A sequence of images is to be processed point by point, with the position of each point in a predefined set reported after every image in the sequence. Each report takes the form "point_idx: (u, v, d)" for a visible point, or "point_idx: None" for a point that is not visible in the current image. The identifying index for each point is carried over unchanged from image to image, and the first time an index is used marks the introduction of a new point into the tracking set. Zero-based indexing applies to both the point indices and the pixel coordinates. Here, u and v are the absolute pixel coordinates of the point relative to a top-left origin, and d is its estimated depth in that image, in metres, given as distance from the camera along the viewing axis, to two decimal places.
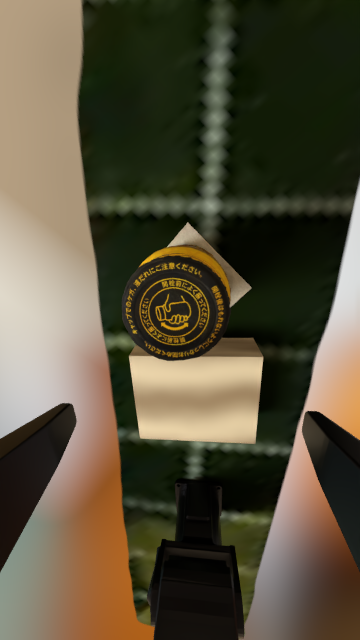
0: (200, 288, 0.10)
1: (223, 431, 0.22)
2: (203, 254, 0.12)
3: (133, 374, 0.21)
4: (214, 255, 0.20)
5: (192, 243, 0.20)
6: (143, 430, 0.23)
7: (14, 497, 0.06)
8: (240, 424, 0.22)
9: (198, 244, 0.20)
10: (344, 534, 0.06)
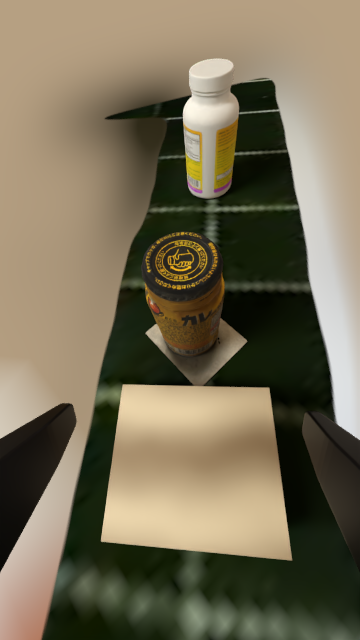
0: (200, 245, 0.14)
1: (236, 525, 0.14)
2: None
3: (121, 409, 0.18)
4: None
5: None
6: (110, 520, 0.15)
7: (14, 497, 0.06)
8: (260, 507, 0.14)
9: None
10: (344, 534, 0.06)
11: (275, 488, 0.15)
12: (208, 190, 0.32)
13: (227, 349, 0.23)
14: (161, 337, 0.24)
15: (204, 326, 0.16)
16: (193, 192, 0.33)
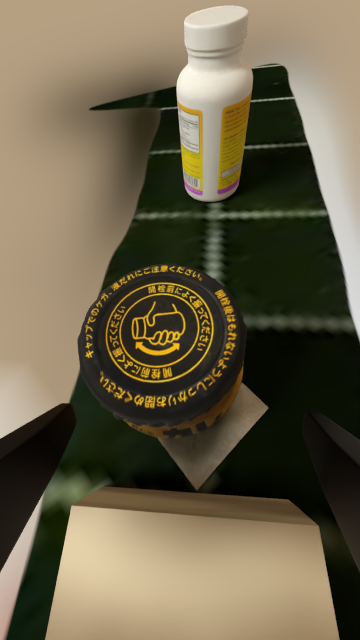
0: (200, 294, 0.07)
1: None
2: None
3: (65, 559, 0.10)
4: None
5: None
6: None
7: (14, 497, 0.06)
8: None
9: None
10: (344, 534, 0.06)
11: None
12: (210, 191, 0.25)
13: (239, 420, 0.16)
14: None
15: None
16: (191, 194, 0.26)
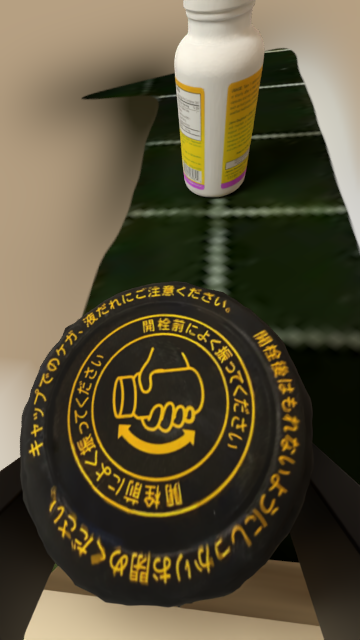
0: (227, 336, 0.04)
1: None
2: None
3: None
4: None
5: None
6: None
7: None
8: None
9: None
10: None
11: None
12: (213, 185, 0.22)
13: None
14: None
15: None
16: (191, 188, 0.23)
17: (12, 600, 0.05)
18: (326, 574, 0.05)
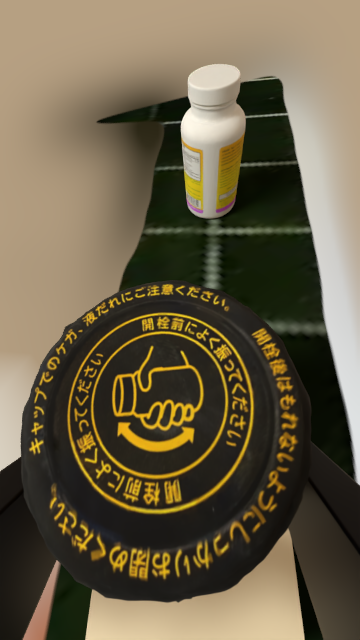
0: (227, 334, 0.04)
1: None
2: None
3: None
4: None
5: None
6: None
7: None
8: None
9: None
10: (289, 529, 0.06)
11: (293, 616, 0.12)
12: (209, 210, 0.28)
13: None
14: None
15: None
16: (193, 211, 0.30)
17: (12, 600, 0.05)
18: (326, 574, 0.05)
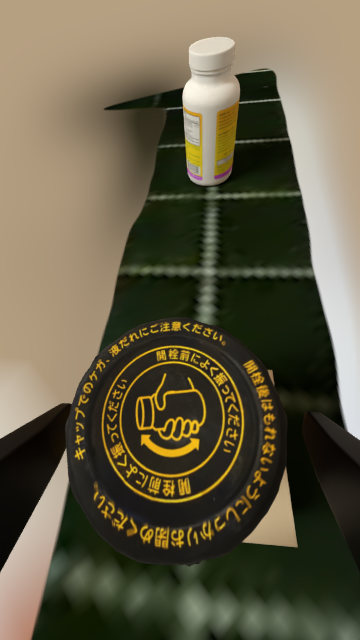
0: (223, 364, 0.05)
1: None
2: None
3: None
4: None
5: None
6: None
7: (14, 497, 0.06)
8: None
9: None
10: (344, 534, 0.06)
11: None
12: (208, 177, 0.31)
13: None
14: None
15: None
16: (193, 179, 0.32)
17: None
18: None
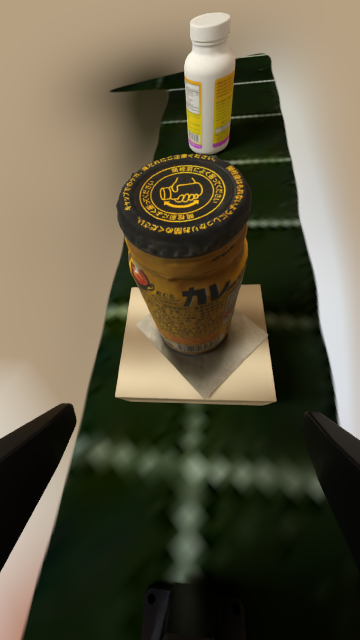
0: (214, 170, 0.09)
1: (230, 380, 0.17)
2: None
3: (130, 305, 0.20)
4: None
5: None
6: (123, 382, 0.17)
7: (14, 497, 0.06)
8: (250, 367, 0.17)
9: None
10: (344, 534, 0.06)
11: (263, 354, 0.17)
12: (207, 145, 0.34)
13: (242, 345, 0.17)
14: (156, 330, 0.19)
15: (216, 308, 0.11)
16: (193, 148, 0.36)
17: None
18: None
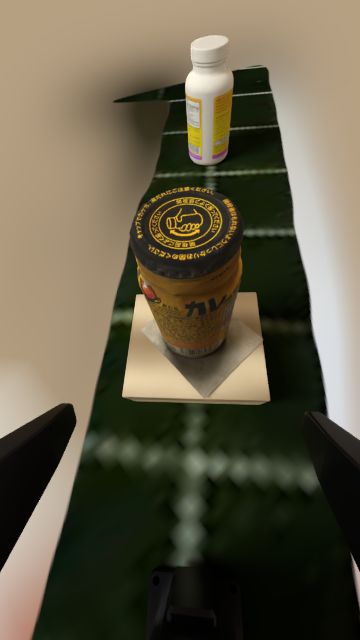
0: (212, 202, 0.10)
1: (228, 381, 0.18)
2: None
3: (135, 311, 0.22)
4: None
5: None
6: (129, 383, 0.19)
7: (14, 497, 0.06)
8: (246, 370, 0.18)
9: None
10: (344, 534, 0.06)
11: (259, 357, 0.19)
12: (207, 156, 0.36)
13: (239, 348, 0.19)
14: (159, 334, 0.20)
15: (215, 318, 0.12)
16: (194, 159, 0.37)
17: None
18: None
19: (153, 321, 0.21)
